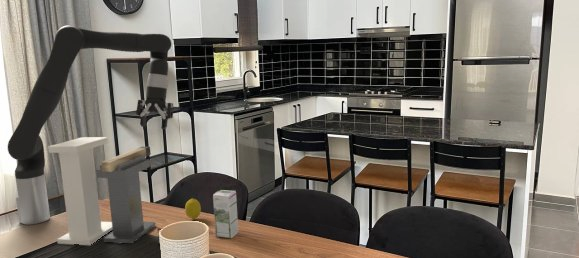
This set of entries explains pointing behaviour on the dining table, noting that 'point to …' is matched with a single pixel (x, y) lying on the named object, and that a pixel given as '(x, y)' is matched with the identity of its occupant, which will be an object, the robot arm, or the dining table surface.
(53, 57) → the robot arm
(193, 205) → the lemon
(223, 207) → the syrup box
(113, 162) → the bar
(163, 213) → the dining table surface
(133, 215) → the holder
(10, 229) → the dining table surface
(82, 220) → the white i-beam pedestal
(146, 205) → the dining table surface
